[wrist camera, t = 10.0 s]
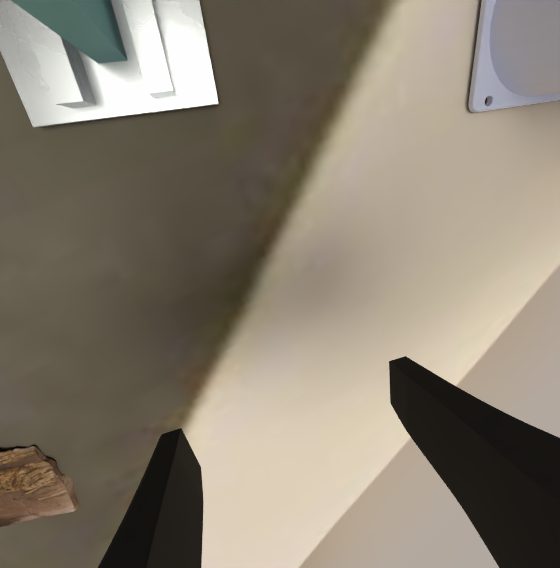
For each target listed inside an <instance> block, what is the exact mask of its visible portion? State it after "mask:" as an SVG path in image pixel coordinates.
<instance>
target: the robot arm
mask: <svg viewBox="0 0 560 568" xmlns="http://www.w3.org/2000/svg"><path fill="white" fill-rule="evenodd" d="M486 98H487V103H486V105H485V99H486ZM557 100H560V0H482V2H481V10H480V18H479V26H478V34H477V41H476V49H475V57H474V65H473V73H472V81H471V88H470V96H469V110H470V111H471V112H483V111H490V110H497V109H503V108H510V107H517V106H524V105H530V104H537V103H544V102H551V101H557ZM389 370H390V399H391V405H392V406H393V408H394V410H395V412H396V414H397V415H398V417H399V419H400V421H401V422H402V424H403V426H404V427H405V429H406V431H407V432H408V433H409V435H410V436H411V438H412V439H413V440H414V442H415V443H416V445H417V446H418V447H419V449H420V450H421V451H422V453H423V454H424V455H425V456H426V458H427V460H428V461H429V462H430V464H431V465H432V466H433V468H434V469H435V470H436V472H437V473H438V474H439V476H440V477H441V479H442V480H443V481H444V483H445V484H446V485H447V487H448V488H449V489H450V491H451V492H452V493H453V495H454V496H455V498H456V499H457V501H458V502H459V504H460V505H461V506H462V508H463V509H464V511H465V512H466V514H467V516H468V517H469V519H470V520H471V522H472V524H473V525H474V527H475V528H476V530H477V532H478V533H479V535H480V537H481V538H482V540H483V541H484V543H485V545H486V546H487V548H488V550H489V551H490V553H491V555H492V556H493V558H494V560H495V561H496V563H497V565H498V566H499V568H560V438H558V437H556V436H554V435H552V434H549V433H547V432H545V431H543V430H540V429H538V428H536V427H534V426H531V425H529V424H527V423H525V422H523V421H521V420H518V419H516V418H514V417H512V416H510V415H508V414H506V413H504V412H502V411H500V410H498V409H496V408H494V407H493V406H490V405H489V404H487V403H485V402H483V401H481V400H479V399H477V398H475V397H474V396H472V395H470V394H468V393H467V392H465V391H463V390H461V389H459V388H458V387H456V386H454V385H453V384H451V383H449V382H447V381H446V380H444V379H442V378H441V377H439V376H437V375H436V374H434V373H432V372H431V371H429V370H427V369H426V368H424V367H422V366H421V365H419V364H417V363H416V362H414V361H412V360H411V359H409V358H407V357H406V356H405V357H402V358H399V359H395V360H392V361H389ZM202 530H203V489H202V476H201V467H200V465H199V463H198V461H197V459H196V457H195V455H194V453H193V451H192V449H191V447H190V445H189V443H188V441H187V439H186V437H185V435H184V433H183V431H182V429H181V428H180V429H177V430H174V431H171V432H168V433H165V434H162V435H161V437H160V439H159V441H158V443H157V446H156V448H155V450H154V453H153V455H152V457H151V460H150V462H149V464H148V467H147V469H146V471H145V473H144V476H143V478H142V480H141V482H140V485H139V487H138V489H137V491H136V493H135V495H134V497H133V500H132V502H131V504H130V506H129V508H128V510H127V512H126V514H125V516H124V518H123V520H122V522H121V524H120V526H119V528H118V530H117V532H116V534H115V536H114V538H113V540H112V542H111V544H110V546H109V548H108V550H107V552H106V553H105V555H104V557H103V559H102V561H101V563H100V565H99V566H98V568H201V558H202Z"/></svg>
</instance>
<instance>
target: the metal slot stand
mask: <svg viewBox="0 0 560 568" xmlns="http://www.w3.org/2000/svg"><path fill="white" fill-rule="evenodd" d="M111 3H112V6H113V10H114V13H115V17H116V20H117V24H118V27H119V31H120V34H121V38H122V41H123V45H124V48H125V52H126V55H127V59H128V60H127V61H118V62H108V63H97V62H95V61H94V60H93V59H91V58H90V57H88V56H87V55H86V54H84V53H83V52H82V51H80V50H79V49H77V48H76V47H75V46H73V45H72V44H70V43H69V42H68V41H66V40H65V39H64V38H62V37H61V36H59V35H58V34H57V33H55V32H54V31H52V30H51V29H50V28H48V27H47V26H46V25H44V24H43V23H41V22H40V21H39V20H37V19H36V18H34V17H33V16H32V15H30V14H29V13H28V12H26V11H25V10H23V9H22V8H21V7H19V6H18V5H16V4H15V3H14V2H12V1H11V0H0V51H1V54H2V56H3V58H4V61H5V63H6V65H7V68H8V70H9V72H10V75H11V77H12V79H13V81H14V84H15V86H16V88H17V91H18V93H19V95H20V98H21V100H22V102H23V105H24V107H25V109H26V111H27V114H28V116H29V118H30V121H31V123H32V125H33V127H40V128H43V127H50V126H58V125H66V124H74V123H82V122H90V121H98V120H105V119H113V118H121V117H129V116H137V115H145V114H153V113H160V112H168V111H176V110H184V109H192V108H200V107H208V106H215V105H218V98H217V93H216V88H215V82H214V77H213V72H212V66H211V61H210V56H209V50H208V45H207V40H206V34H205V29H204V23H203V18H202V13H201V7H200V2H199V0H111Z"/></svg>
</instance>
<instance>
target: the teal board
mask: <svg viewBox="0 0 560 568" xmlns="http://www.w3.org/2000/svg"><path fill="white" fill-rule="evenodd" d="M11 1H12V2H14V3H15V4H16V5H18V6H19V7H21V8H22V9H23V10H25V11H26V12H28V13H29V14H30V15H32V16H33V17H34V18H36V19H37V20H39V21H40V22H41V23H43V24H44V25H46V26H47V27H48V28H50V29H51V30H52V31H54V32H55V33H57V34H58V35H59V36H61V37H62V38H64V39H65V40H66V41H68V42H69V43H70V44H72V45H73V46H75V47H76V48H77V49H79V50H80V51H82V52H83V53H84V54H86V55H87V56H88V57H90V58H91V59H93V60H94V61H95V62H97V63H108V62H118V61H127V60H128V59H127V55H126V52H125V48H124V45H123V41H122V38H121V34H120V31H119V27H118V24H117V20H116V17H115V13H114V10H113V6H112V3H111V0H11Z"/></svg>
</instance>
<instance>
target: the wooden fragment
mask: <svg viewBox="0 0 560 568" xmlns="http://www.w3.org/2000/svg"><path fill="white" fill-rule="evenodd" d="M79 506H80V504H79V502H78V500H77V497H76V495H75V492H74V489H73V482H72V480H71V479H70V478H69V477H68V476H66V475H64V474H62V473H61V472H60V470H59V469H58V468H57V466H56V462H55V461H53V460H52V459H50V458H46V456H44V455H43V454H42V453H41V452H40V450H39V449H38V448H37V447H34V446H30V447H28V448H18V447H17V448H15V449H11V450H7V451H0V527H1V526H7V525H10V524H15V523H19V522H22V521H24V520H25V521H26V520H31V519H34V518H41V517H43V516H52V515H57V514H64V513H67V512H73V511H75V510H76V509H77V508H78V507H79Z"/></svg>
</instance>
